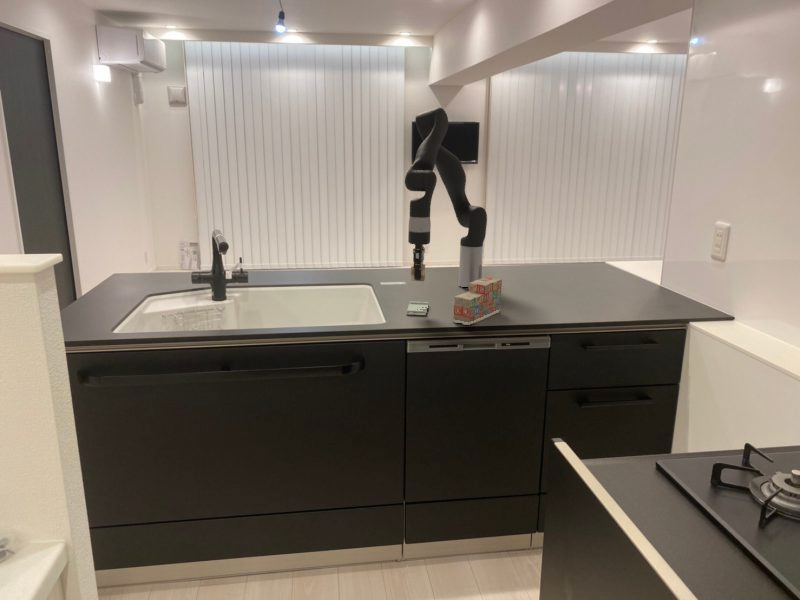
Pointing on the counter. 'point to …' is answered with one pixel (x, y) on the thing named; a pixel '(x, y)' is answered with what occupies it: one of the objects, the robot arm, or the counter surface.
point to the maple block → (421, 273)
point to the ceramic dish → (417, 307)
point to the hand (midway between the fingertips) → (418, 277)
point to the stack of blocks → (478, 299)
